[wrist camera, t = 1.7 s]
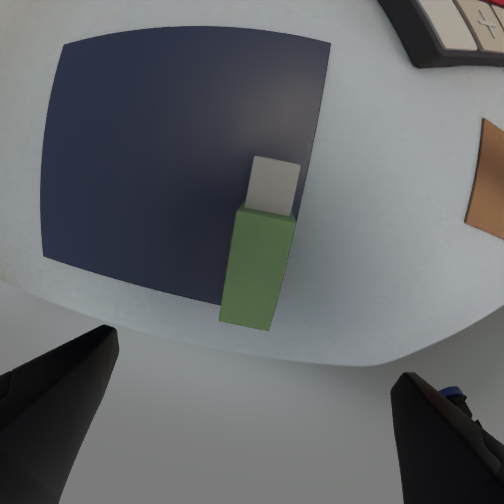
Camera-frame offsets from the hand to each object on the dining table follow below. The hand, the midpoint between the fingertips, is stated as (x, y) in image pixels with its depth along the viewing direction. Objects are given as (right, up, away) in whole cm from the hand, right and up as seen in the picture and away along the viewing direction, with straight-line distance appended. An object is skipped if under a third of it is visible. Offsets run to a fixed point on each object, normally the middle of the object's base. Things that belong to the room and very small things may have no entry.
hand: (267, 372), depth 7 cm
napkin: (-8, +10, +10) cm, 16 cm away
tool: (0, +5, +11) cm, 12 cm away
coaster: (+22, +9, +8) cm, 25 cm away
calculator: (+16, +24, +4) cm, 29 cm away
